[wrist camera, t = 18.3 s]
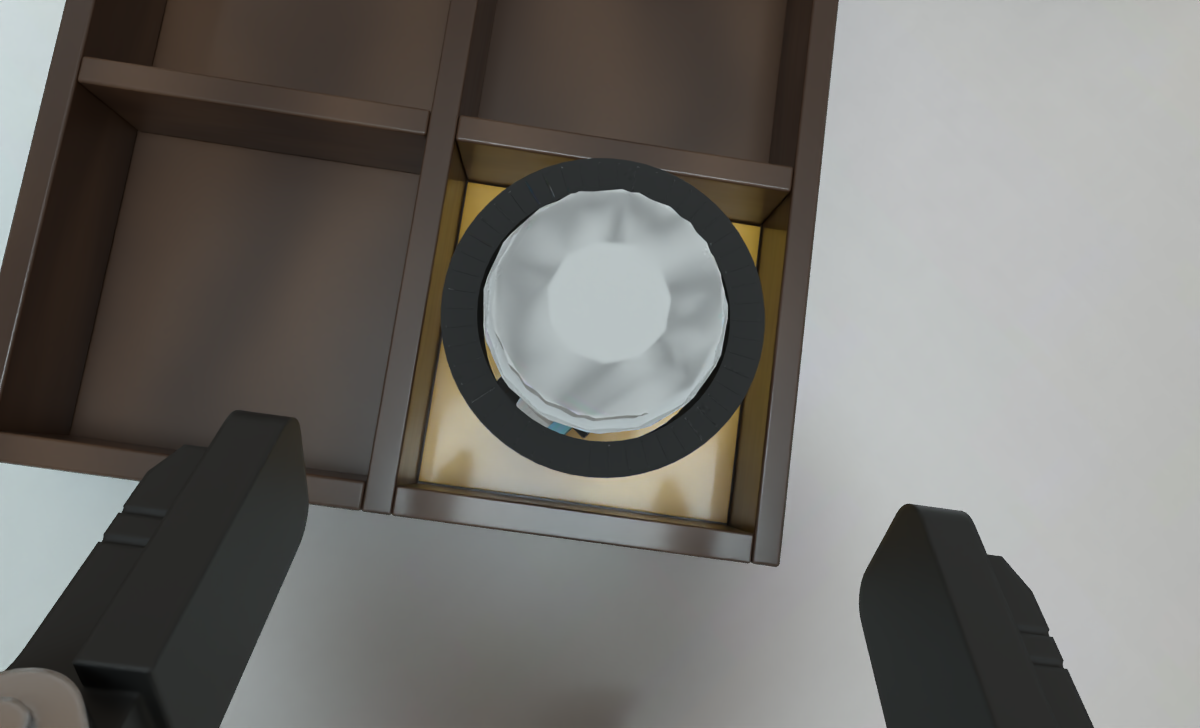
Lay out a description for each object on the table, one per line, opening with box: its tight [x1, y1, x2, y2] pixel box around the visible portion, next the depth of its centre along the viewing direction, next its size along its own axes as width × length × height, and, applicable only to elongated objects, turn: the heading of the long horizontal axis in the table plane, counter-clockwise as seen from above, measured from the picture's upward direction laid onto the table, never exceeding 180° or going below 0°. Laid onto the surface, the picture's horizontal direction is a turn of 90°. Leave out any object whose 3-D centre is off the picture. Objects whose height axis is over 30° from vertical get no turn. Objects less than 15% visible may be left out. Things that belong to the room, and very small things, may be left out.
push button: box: [441, 158, 765, 478], centre depth 17 cm, size 7×5×10 cm
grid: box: [0, 0, 839, 567], centre depth 22 cm, size 19×19×4 cm
